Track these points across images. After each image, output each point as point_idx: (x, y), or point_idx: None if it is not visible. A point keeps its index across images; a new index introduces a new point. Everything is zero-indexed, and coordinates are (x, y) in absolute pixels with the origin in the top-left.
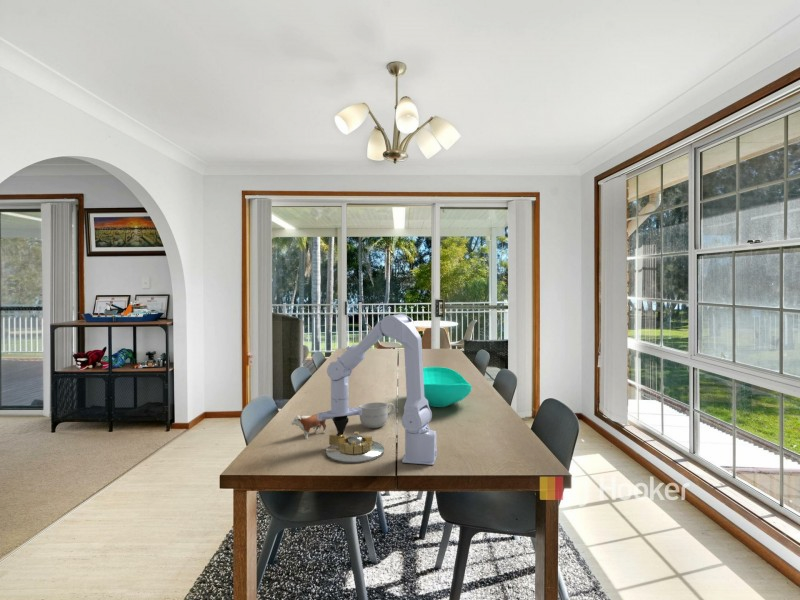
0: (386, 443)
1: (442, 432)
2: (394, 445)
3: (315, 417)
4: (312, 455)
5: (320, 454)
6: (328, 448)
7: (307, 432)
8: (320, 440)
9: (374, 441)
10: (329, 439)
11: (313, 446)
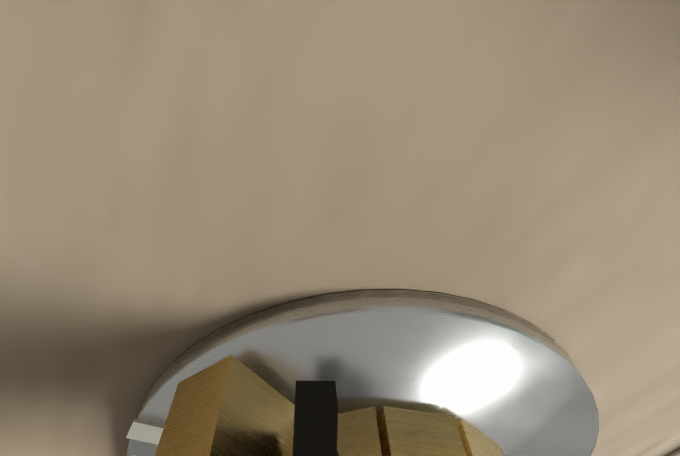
0: (662, 411)
1: None
2: (660, 450)
3: None
4: (10, 399)
5: (88, 404)
6: (160, 413)
7: None
8: (135, 18)
9: (596, 423)
10: (163, 440)
11: (13, 210)
